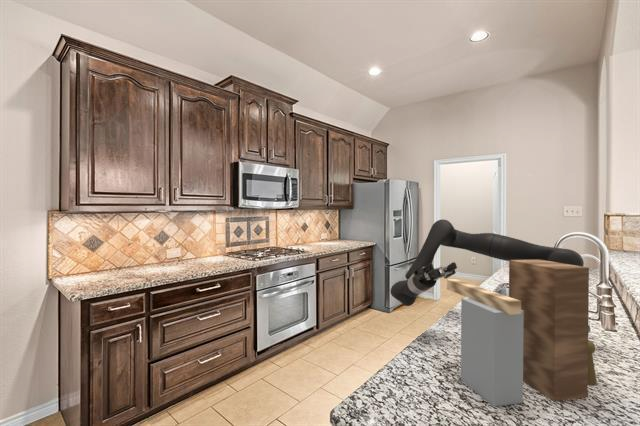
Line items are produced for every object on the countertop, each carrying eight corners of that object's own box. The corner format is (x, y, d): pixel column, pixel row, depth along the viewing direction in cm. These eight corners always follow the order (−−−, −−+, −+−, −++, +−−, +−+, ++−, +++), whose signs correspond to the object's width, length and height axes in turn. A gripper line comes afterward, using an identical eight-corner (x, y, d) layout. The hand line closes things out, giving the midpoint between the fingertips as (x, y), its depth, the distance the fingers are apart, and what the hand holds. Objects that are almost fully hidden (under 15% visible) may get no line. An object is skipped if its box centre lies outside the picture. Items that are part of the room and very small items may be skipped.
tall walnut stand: (587, 396, 77) (588, 267, 77) (554, 401, 75) (555, 268, 75) (537, 368, 91) (538, 259, 91) (508, 372, 89) (509, 260, 89)
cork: (602, 386, 82) (603, 344, 82) (576, 384, 83) (576, 342, 83) (587, 375, 88) (588, 335, 88) (563, 372, 89) (563, 334, 89)
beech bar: (521, 313, 72) (521, 300, 72) (509, 314, 71) (510, 301, 71) (455, 288, 96) (455, 279, 96) (447, 289, 95) (447, 279, 95)
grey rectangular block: (522, 402, 74) (523, 310, 74) (493, 406, 73) (494, 312, 73) (486, 376, 86) (487, 297, 86) (460, 379, 84) (461, 298, 84)
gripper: (401, 272, 117) (421, 255, 103) (435, 270, 120) (459, 254, 106) (406, 292, 113) (427, 277, 100) (441, 290, 116) (466, 275, 103)
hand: (443, 265), depth 103 cm, fingers open, 8 cm apart
